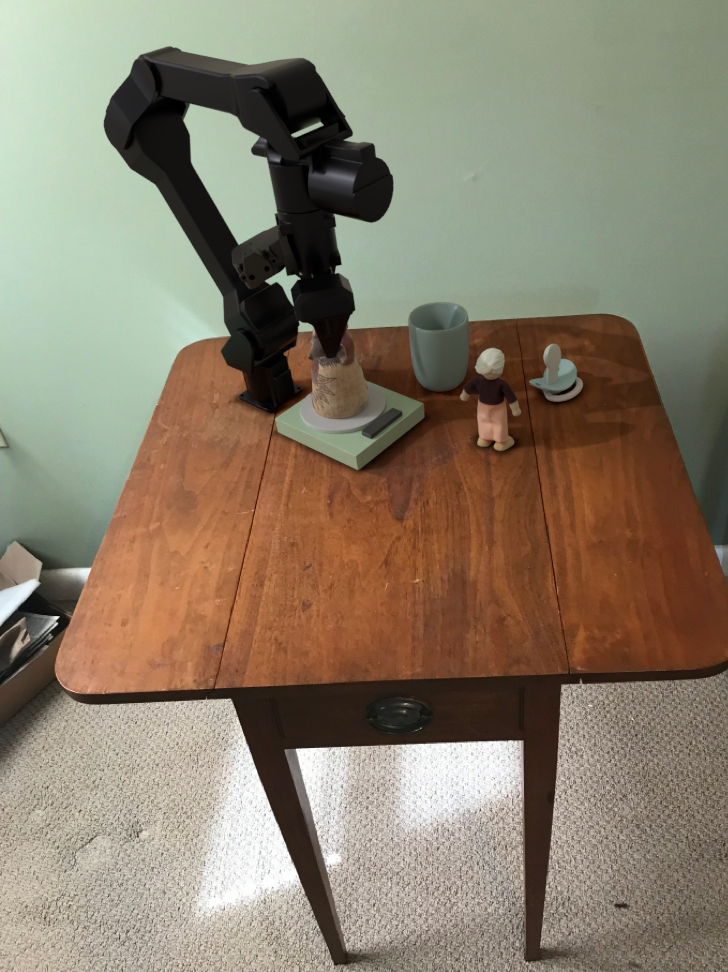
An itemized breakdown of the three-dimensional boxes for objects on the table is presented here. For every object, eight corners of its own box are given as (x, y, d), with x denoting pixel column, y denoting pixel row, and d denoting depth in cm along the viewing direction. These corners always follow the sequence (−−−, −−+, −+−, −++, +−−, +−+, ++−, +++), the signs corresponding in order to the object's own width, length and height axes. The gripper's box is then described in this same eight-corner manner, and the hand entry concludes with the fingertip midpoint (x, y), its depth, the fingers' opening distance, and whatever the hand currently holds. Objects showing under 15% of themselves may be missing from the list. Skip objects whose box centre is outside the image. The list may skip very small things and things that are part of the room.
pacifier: (592, 385, 102) (553, 370, 105) (598, 343, 97) (557, 329, 100) (561, 411, 98) (522, 395, 101) (566, 369, 94) (525, 353, 97)
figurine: (340, 382, 102) (326, 297, 93) (380, 398, 98) (370, 312, 90) (302, 408, 98) (284, 322, 90) (343, 426, 94) (329, 339, 86)
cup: (471, 397, 102) (469, 329, 95) (412, 401, 102) (406, 333, 95) (468, 366, 107) (467, 299, 100) (413, 369, 108) (408, 303, 101)
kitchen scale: (278, 432, 99) (273, 414, 98) (345, 385, 106) (342, 367, 104) (358, 470, 93) (355, 452, 91) (424, 417, 99) (423, 399, 97)
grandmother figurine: (525, 436, 95) (528, 344, 86) (518, 455, 92) (520, 362, 83) (465, 428, 97) (462, 338, 88) (456, 446, 94) (452, 355, 86)
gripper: (223, 184, 86) (253, 313, 97) (229, 252, 72) (263, 392, 83) (321, 169, 87) (341, 298, 98) (345, 233, 73) (364, 374, 84)
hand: (326, 338), depth 91 cm, fingers open, 9 cm apart
